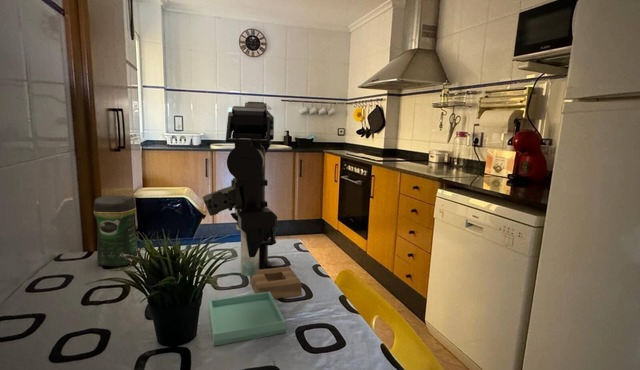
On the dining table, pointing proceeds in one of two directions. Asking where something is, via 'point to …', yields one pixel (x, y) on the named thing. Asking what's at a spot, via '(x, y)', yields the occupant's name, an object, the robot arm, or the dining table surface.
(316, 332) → the dining table surface
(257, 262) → the steel pin
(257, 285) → the block
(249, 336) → the tray
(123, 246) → the coffee jar
